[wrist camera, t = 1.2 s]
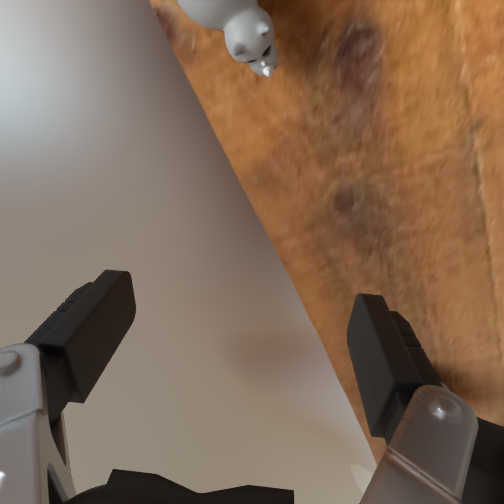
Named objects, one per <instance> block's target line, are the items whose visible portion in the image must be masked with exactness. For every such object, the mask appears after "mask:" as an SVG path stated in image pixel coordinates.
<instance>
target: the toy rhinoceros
mask: <svg viewBox="0 0 504 504" xmlns="http://www.w3.org/2000/svg"><path fill="white" fill-rule="evenodd" d="M177 2H178V4H179V5H180V7H181V8H182V10H183V11H184V12H185V13H186V14H187V16H188V17H189V18H191V19H192V20H193V21H194V22H196V23H197V24H199V25H200V26H202V27H205V28H208V29H212V30H223V31H224V33H225V42H226V46H227V49H228V51H229V53H230V54H231V56H232V57H233V58H234V59H235V60H236V61H238V62H241V63H246V64H248V65H249V66H250V67H251V69H252V70H253V71H254V72H255V73H257V74H259V75H260V76H264V75H266V76H267V77H271V76H272V74H273V70H274V69H275V68H277V65H278V51H277V49H276V46H275V44H274V26H273V22H272V19H271V17H270V16H269V14H268V13H267V12H266V11H265V10H263V9H262V8H261V7H259V6H258V3H257V0H177Z"/></svg>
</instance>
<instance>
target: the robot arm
mask: <svg viewBox="0 0 504 504" xmlns="http://www.w3.org/2000/svg"><path fill="white" fill-rule="evenodd" d="M135 313H136V304H135V298H134V291H133V285H132V279H131V275H130V273H129V272H128V271H116V270H105V271H104V272H103V273H102V274H101V275H100V276H99V277H98V278H97V279H96V280H95V281H94V282H93V283H92V282H89V283H87V284H85V285H83V286H82V287H80V288H78V289H76V290H75V291H74V292H73V293H72V294H71V295H70V296H69V297H68V298H67V299H66V300H65V303H62V304H61V305H60V306H59V307H58V308H57V311H54V312H53V313H52V314H51V315H50V317H48V318H47V319H46V321H45V322H44V323H43V324H42V325H41V326H40V327H39V328H38V329H37V330H36V331H35V332H34V333H33V334H32V335H31V336H30V337H29V338H28V339H27V340H26V341H25V342H24V343H19V344H12V345H9V346H5V347H3V348H0V504H294V491H293V490H287V489H278V488H270V487H261V486H252V485H246V486H240V487H235V488H230V489H224V490H219V491H213V492H208V493H197V492H194V491H192V490H190V489H188V488H186V487H183V486H181V485H179V484H177V483H175V482H173V481H170V480H168V479H166V478H164V477H162V476H160V475H157V474H152V473H143V472H135V471H126V470H118V469H113V470H112V473H111V475H110V477H109V480H108V482H107V484H105V485H101V486H98V487H94V488H91V489H89V490H86V491H84V492H82V493H80V494H77V495H76V491H75V488H74V484H73V481H72V475H71V469H70V462H69V453H68V446H67V438H66V429H65V421H64V416H63V412H62V411H63V409H64V408H65V406H66V405H67V403H68V402H77V403H84V402H85V400H86V399H87V397H88V395H89V394H90V392H91V390H92V388H93V387H94V385H95V384H96V382H97V380H98V379H99V377H100V376H101V374H102V372H103V371H104V369H105V367H106V365H107V364H108V362H109V361H110V359H111V357H112V356H113V354H114V353H115V351H116V349H117V348H118V346H119V344H120V343H121V341H122V339H123V338H124V336H125V334H126V333H127V331H128V330H129V328H130V326H131V325H132V323H133V321H134V318H135ZM347 344H348V348H349V352H350V356H351V360H352V364H353V368H354V372H355V375H356V379H357V383H358V387H359V391H360V395H361V399H362V403H363V407H364V410H365V414H366V418H367V422H368V426H369V430H370V434H371V436H373V437H382V438H385V440H386V443H387V449H386V451H385V453H384V455H383V457H382V459H381V461H380V463H379V465H378V467H377V469H376V471H375V473H374V475H373V477H372V479H371V481H370V483H369V485H368V487H367V489H366V491H365V493H364V495H363V497H362V499H361V501H360V503H359V504H504V427H502V426H499V425H496V424H494V423H491V422H488V421H486V420H483V419H481V418H478V417H476V415H475V414H474V412H473V410H472V409H471V408H470V406H469V405H468V404H467V403H466V402H465V401H464V400H463V399H462V398H460V397H459V396H458V395H456V394H455V393H453V392H451V391H449V390H447V389H445V388H444V387H443V386H442V384H441V382H440V380H439V378H438V376H437V374H436V372H435V371H434V369H433V367H432V365H431V363H430V361H429V359H428V357H427V356H426V354H425V352H424V350H423V348H421V344H420V343H419V341H418V339H417V338H416V337H415V333H414V331H413V329H412V328H411V326H410V324H409V322H408V321H407V320H405V319H404V318H403V317H402V316H401V315H400V314H399V313H398V312H396V311H389V309H388V306H387V304H386V302H385V300H384V298H383V297H382V296H381V295H372V294H361V293H359V294H357V296H356V299H355V303H354V306H353V310H352V313H351V317H350V321H349V324H348V329H347Z"/></svg>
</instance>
